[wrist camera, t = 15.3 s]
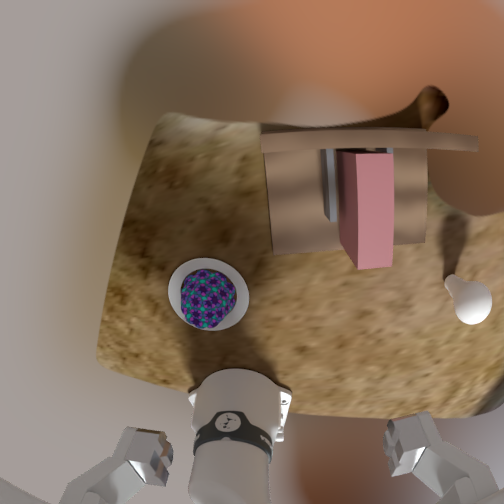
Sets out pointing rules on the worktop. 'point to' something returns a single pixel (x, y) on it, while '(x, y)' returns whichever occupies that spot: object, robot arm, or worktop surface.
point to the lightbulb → (469, 299)
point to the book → (366, 206)
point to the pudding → (208, 294)
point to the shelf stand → (326, 181)
